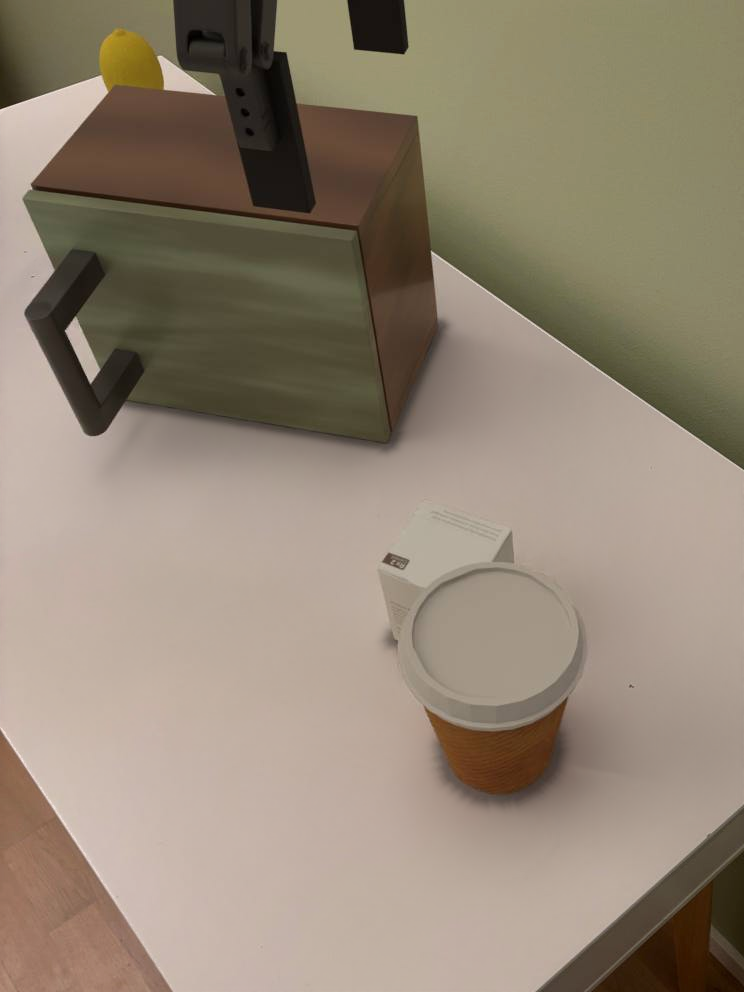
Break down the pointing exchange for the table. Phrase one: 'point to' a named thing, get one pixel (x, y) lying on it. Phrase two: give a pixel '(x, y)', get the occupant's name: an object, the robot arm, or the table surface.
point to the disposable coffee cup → (493, 669)
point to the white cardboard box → (437, 554)
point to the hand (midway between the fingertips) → (336, 122)
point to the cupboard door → (207, 315)
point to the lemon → (129, 62)
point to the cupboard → (223, 189)
